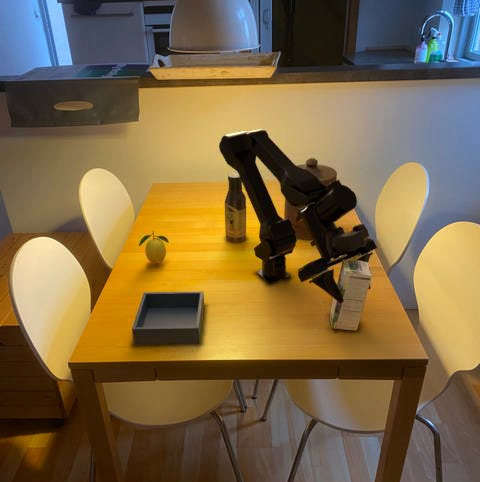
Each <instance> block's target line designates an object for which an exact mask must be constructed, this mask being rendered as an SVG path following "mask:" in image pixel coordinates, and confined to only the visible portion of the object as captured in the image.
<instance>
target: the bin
mask: <svg viewBox="0 0 480 482" xmlns="http://www.w3.org/2000/svg"><path fill="white" fill-rule="evenodd" d="M204 315H205V296H204V291H156V292H155V291H152V292H149V291H148V292H147V291H146V292H143V294H142V297H141V300H140V303H139V306H138V309H137V311H136V315H135V319H134V322H133V324H132V328H131V333H132V337H133V342H134V345H135V346H140V345H141V346H143V345H144V346H145V345H149V346H150V345H199V344H201V339H202V331H203V323H204Z"/></svg>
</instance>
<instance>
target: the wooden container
mask: <svg viewBox="0 0 480 482" xmlns="http://www.w3.org/2000/svg"><path fill="white" fill-rule="evenodd" d="M296 166H297V167H300V168H303V169H306V170H308V171H309V172H311V173H312V174H313V175H315V176H316V177H317V178H318V179H319V180H320V182H322V183H324V184H325V185H327V186H328V185H329V184H330V183H331V182H333V181H337V180H338V171H337V170H336V169H335V168H333V167H331V166H328V165H323V164H319V163H318V159H316V158H315V157H310V158H307V160H306V161H305V164H297V165H296ZM311 204H315V202H313V203H310V204H307V205H304V206H303V205H301V206H298V207H293V206H291V205H290V204H289V203H288V201H287V200H286V198H285V197H284V211H283V212H284V213H283V219H284V220H285V219H289V220H290V221H291V224H292V227H293V229H294V231H295V232H296V234H295V235H296V238H297V239H301V240H312V238H311V235H310V233H309V231H308V229H307V227H306V225H305V223H304V221H303V220H301V221H298V222H297V221H296V217H297V214H298V209H301V208H304V207H308V206H309V205H311Z"/></svg>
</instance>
